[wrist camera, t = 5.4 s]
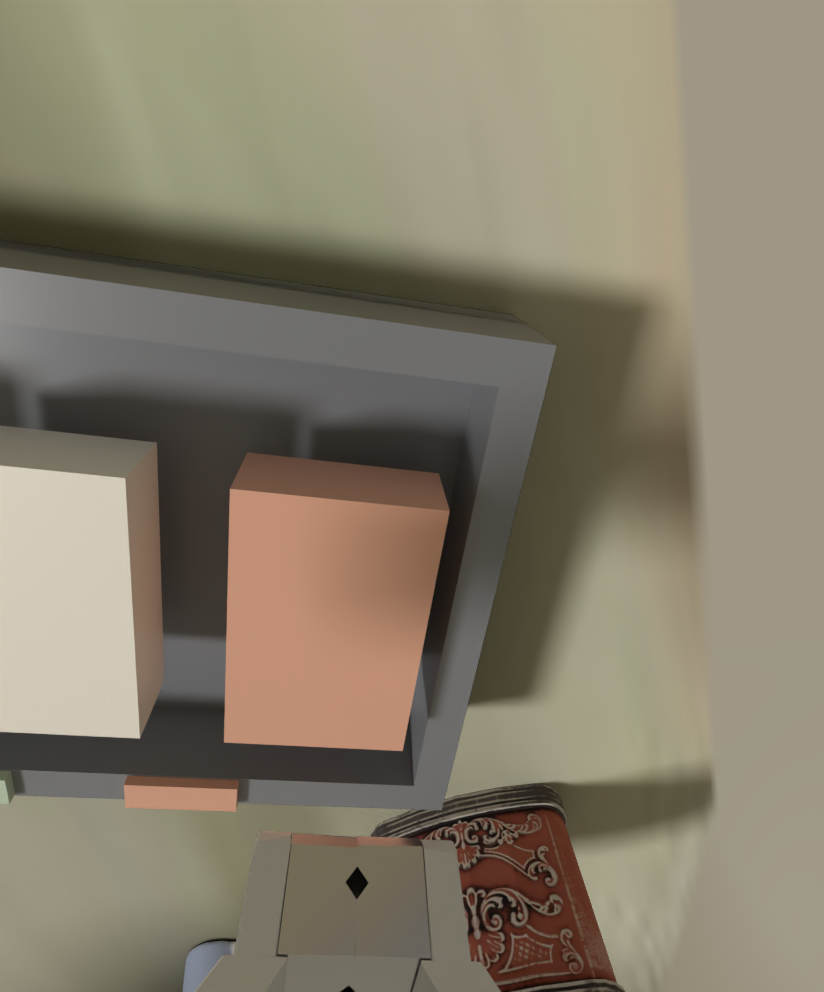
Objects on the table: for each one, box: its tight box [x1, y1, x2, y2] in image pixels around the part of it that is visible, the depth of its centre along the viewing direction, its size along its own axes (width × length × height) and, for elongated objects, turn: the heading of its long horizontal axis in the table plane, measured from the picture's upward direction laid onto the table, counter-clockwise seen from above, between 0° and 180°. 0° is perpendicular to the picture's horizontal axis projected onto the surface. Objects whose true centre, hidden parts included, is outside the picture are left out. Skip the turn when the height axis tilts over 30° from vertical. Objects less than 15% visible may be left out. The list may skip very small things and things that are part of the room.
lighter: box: [370, 784, 625, 992], centre depth 20 cm, size 8×3×10 cm, turn 105°
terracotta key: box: [224, 452, 450, 751], centre depth 15 cm, size 4×7×2 cm, turn 172°
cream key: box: [0, 425, 164, 738], centre depth 14 cm, size 4×7×2 cm, turn 171°
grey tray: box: [0, 240, 557, 811], centre depth 15 cm, size 21×14×4 cm, turn 82°
